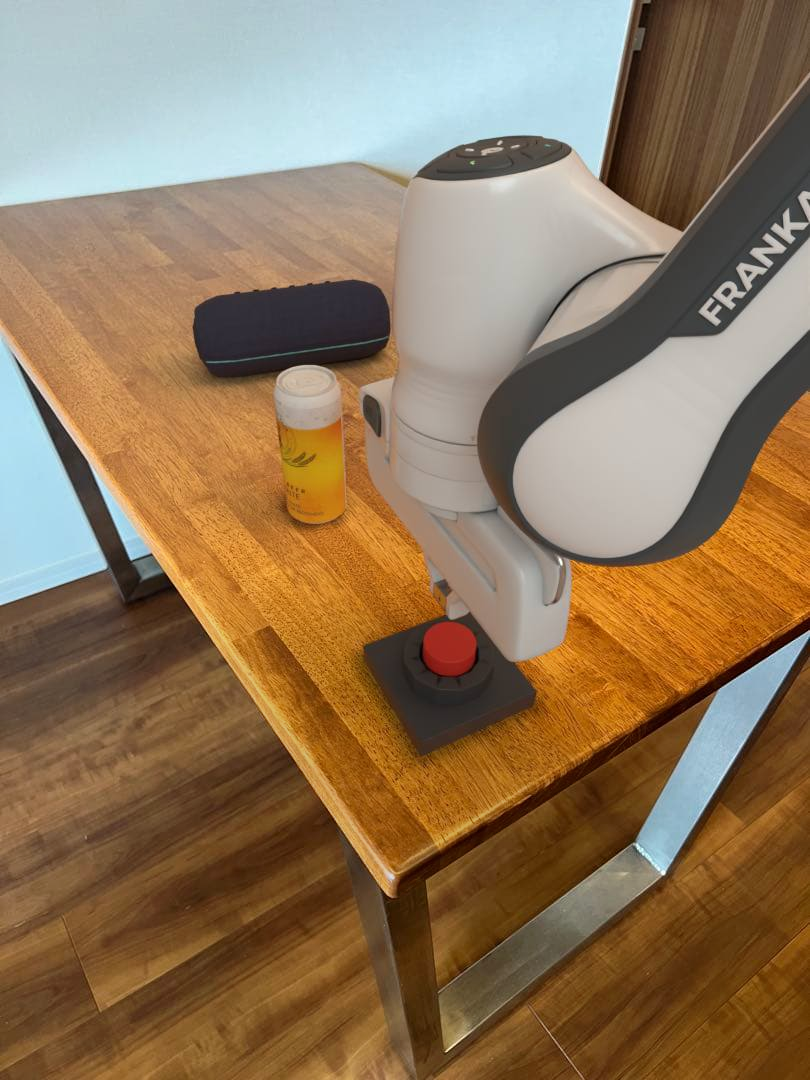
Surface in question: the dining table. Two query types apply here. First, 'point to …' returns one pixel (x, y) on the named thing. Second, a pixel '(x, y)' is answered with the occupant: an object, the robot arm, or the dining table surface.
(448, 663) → the button
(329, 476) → the beer can
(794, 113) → the robot arm
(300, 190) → the dining table surface
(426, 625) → the button base
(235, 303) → the portable speaker
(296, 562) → the dining table surface
